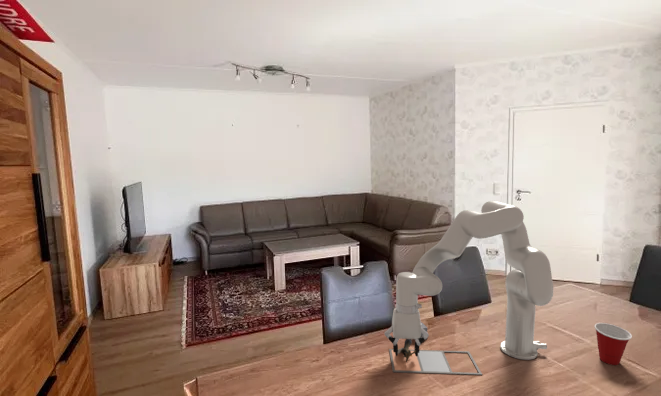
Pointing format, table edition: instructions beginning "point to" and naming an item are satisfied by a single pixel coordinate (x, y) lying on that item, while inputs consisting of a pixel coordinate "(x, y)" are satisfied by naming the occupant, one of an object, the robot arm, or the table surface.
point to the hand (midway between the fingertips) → (406, 353)
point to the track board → (426, 362)
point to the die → (423, 328)
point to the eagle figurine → (406, 349)
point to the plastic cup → (611, 342)
